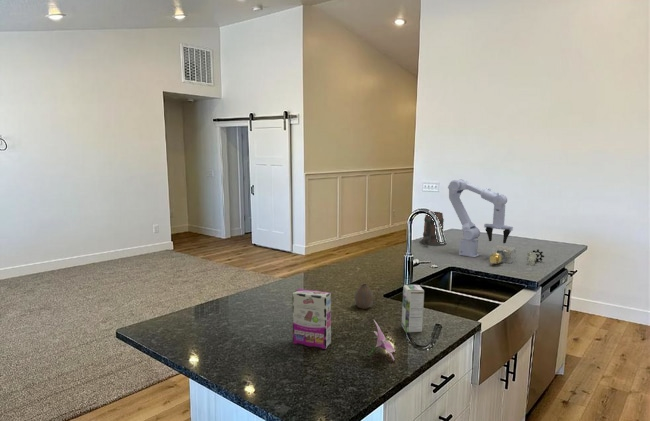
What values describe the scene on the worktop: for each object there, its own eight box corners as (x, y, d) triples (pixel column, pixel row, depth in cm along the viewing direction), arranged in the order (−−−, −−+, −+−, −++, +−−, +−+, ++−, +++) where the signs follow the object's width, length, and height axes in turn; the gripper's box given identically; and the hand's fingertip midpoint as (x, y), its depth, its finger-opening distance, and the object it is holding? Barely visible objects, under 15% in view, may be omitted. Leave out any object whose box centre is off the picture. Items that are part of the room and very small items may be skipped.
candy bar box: (331, 343, 133) (332, 292, 131) (326, 350, 129) (326, 297, 126) (298, 337, 137) (298, 287, 135) (292, 343, 133) (291, 292, 130)
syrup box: (401, 325, 146) (402, 284, 144) (418, 325, 147) (419, 284, 145) (405, 332, 141) (406, 290, 139) (423, 332, 141) (424, 289, 139)
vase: (367, 311, 159) (368, 288, 158) (351, 307, 163) (351, 285, 162) (375, 306, 165) (376, 283, 164) (359, 302, 169) (360, 280, 167)
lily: (382, 375, 116) (400, 345, 116) (348, 348, 122) (365, 319, 121) (395, 369, 127) (412, 341, 126) (364, 344, 133) (380, 318, 132)
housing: (491, 260, 234) (492, 247, 233) (496, 257, 240) (497, 245, 239) (510, 263, 227) (511, 250, 226) (515, 260, 233) (516, 247, 232)
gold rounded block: (487, 264, 222) (487, 253, 222) (494, 260, 231) (495, 250, 230) (498, 266, 219) (498, 255, 218) (505, 262, 227) (506, 251, 227)
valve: (535, 266, 222) (543, 262, 230) (536, 254, 221) (544, 250, 229) (522, 264, 226) (531, 260, 235) (523, 251, 225) (531, 248, 234)
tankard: (424, 239, 287) (425, 209, 284) (449, 242, 279) (451, 211, 276) (412, 246, 267) (413, 214, 264) (439, 249, 259) (440, 216, 256)
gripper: (482, 216, 233) (481, 241, 235) (510, 219, 224) (508, 245, 226) (487, 215, 238) (486, 239, 240) (514, 218, 229) (513, 243, 231)
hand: (497, 242), depth 233 cm, fingers open, 7 cm apart
